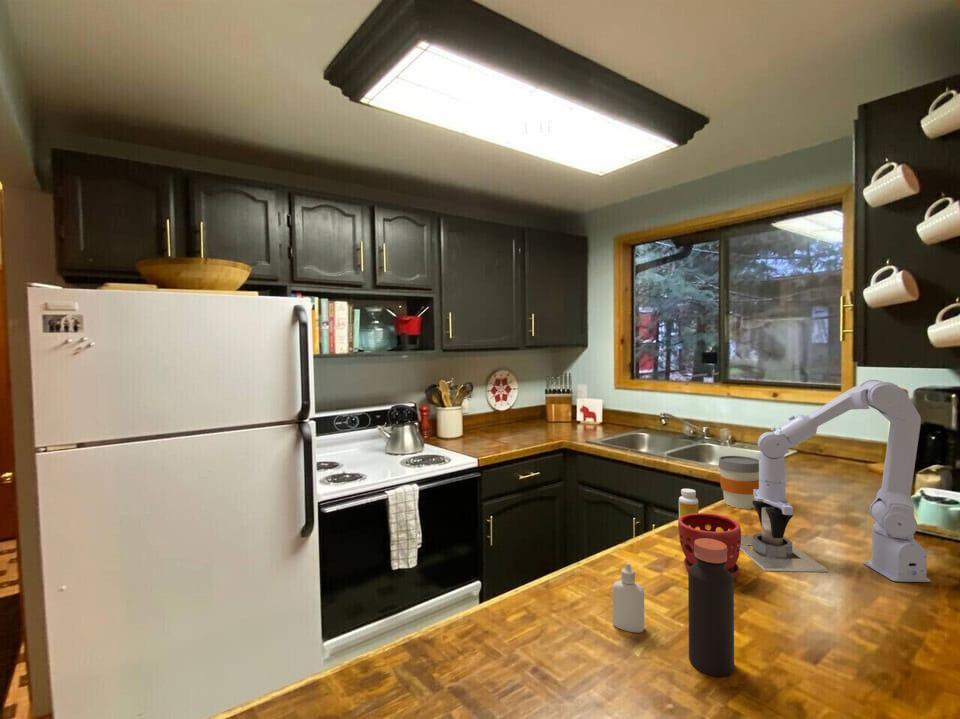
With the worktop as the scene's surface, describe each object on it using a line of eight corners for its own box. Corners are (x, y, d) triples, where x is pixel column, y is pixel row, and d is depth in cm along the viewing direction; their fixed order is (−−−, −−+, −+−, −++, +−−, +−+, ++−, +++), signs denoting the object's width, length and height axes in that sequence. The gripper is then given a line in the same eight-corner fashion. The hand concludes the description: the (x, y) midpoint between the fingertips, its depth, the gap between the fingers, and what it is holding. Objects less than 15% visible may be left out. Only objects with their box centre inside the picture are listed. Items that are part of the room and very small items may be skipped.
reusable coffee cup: (770, 507, 153) (770, 461, 153) (742, 513, 149) (742, 465, 149) (736, 496, 165) (736, 454, 165) (710, 501, 161) (709, 457, 160)
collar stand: (827, 571, 109) (827, 557, 109) (764, 570, 110) (764, 556, 110) (778, 537, 129) (778, 525, 129) (725, 537, 130) (725, 525, 130)
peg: (786, 549, 117) (786, 513, 117) (767, 548, 118) (767, 512, 117) (776, 541, 122) (776, 507, 122) (758, 541, 122) (758, 506, 122)
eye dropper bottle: (624, 616, 92) (623, 555, 92) (648, 630, 88) (648, 566, 87) (608, 623, 90) (608, 561, 90) (633, 638, 85) (632, 572, 85)
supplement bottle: (700, 526, 138) (700, 493, 138) (681, 525, 139) (680, 492, 139) (696, 519, 144) (695, 488, 144) (677, 518, 145) (677, 487, 145)
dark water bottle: (720, 650, 82) (719, 535, 81) (743, 677, 75) (742, 551, 74) (681, 651, 81) (680, 536, 81) (701, 678, 75) (700, 553, 74)
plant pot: (707, 556, 119) (707, 508, 118) (754, 579, 106) (754, 526, 106) (666, 565, 114) (666, 515, 114) (710, 590, 102) (710, 535, 101)
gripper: (741, 472, 127) (741, 523, 127) (771, 488, 112) (771, 545, 113) (769, 473, 126) (769, 523, 127) (802, 488, 112) (802, 545, 112)
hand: (772, 533), depth 120 cm, fingers closed on peg, 4 cm apart
